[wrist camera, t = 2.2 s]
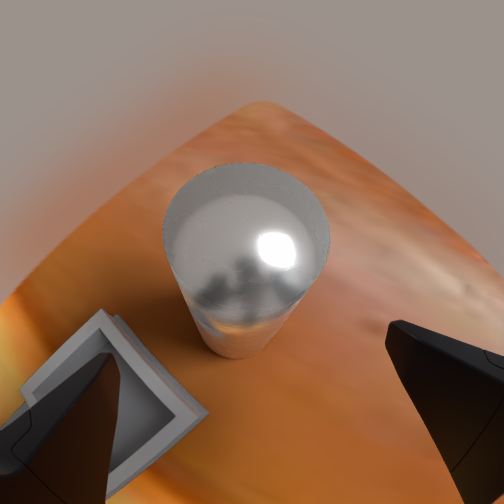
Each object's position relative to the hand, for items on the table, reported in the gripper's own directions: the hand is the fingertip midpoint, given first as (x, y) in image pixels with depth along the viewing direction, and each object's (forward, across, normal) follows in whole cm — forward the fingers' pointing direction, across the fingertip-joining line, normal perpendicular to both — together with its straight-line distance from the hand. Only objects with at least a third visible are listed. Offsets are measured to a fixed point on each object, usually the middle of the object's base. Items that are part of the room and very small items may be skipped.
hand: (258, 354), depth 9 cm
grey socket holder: (+3, +14, +12) cm, 18 cm away
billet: (+10, 0, +5) cm, 11 cm away
